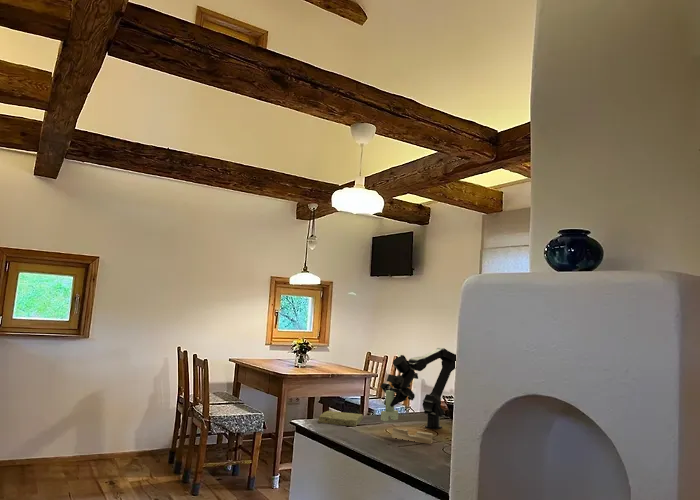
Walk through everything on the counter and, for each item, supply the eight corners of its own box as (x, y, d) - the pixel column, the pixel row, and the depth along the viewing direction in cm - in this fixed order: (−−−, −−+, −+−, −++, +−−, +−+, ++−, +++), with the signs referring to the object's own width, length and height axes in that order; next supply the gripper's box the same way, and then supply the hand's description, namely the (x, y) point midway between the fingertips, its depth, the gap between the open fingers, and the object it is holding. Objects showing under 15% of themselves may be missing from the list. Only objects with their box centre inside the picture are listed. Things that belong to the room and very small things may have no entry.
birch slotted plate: (394, 436, 242) (394, 427, 243) (432, 442, 234) (432, 433, 235) (392, 437, 240) (392, 428, 240) (430, 444, 232) (430, 434, 232)
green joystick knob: (392, 417, 252) (393, 389, 253) (398, 419, 248) (399, 391, 250) (380, 419, 247) (380, 391, 248) (385, 421, 244) (386, 392, 245)
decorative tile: (325, 416, 282) (325, 409, 283) (363, 419, 278) (363, 412, 279) (316, 423, 264) (316, 416, 265) (356, 427, 260) (356, 419, 260)
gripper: (383, 365, 259) (365, 390, 252) (410, 370, 245) (392, 397, 237) (395, 381, 264) (377, 406, 256) (422, 386, 249) (405, 413, 241)
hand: (387, 405), depth 247 cm, fingers closed on green joystick knob, 4 cm apart
